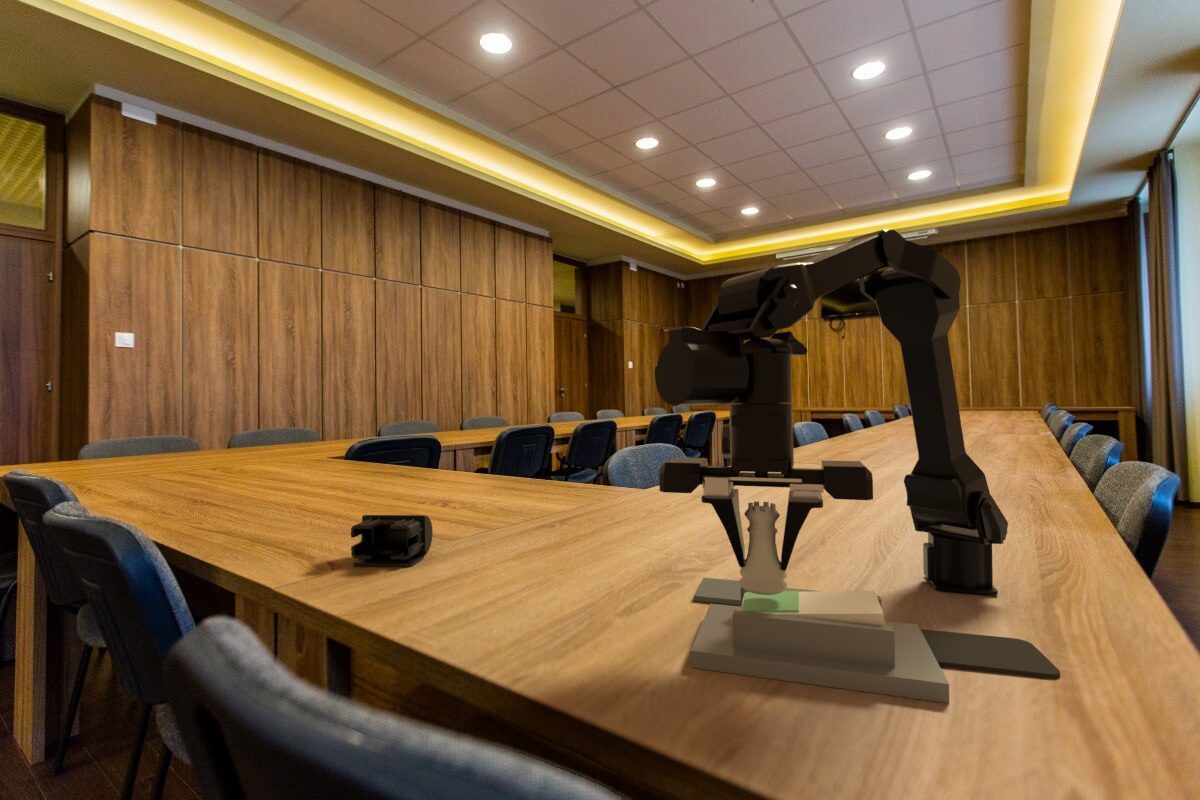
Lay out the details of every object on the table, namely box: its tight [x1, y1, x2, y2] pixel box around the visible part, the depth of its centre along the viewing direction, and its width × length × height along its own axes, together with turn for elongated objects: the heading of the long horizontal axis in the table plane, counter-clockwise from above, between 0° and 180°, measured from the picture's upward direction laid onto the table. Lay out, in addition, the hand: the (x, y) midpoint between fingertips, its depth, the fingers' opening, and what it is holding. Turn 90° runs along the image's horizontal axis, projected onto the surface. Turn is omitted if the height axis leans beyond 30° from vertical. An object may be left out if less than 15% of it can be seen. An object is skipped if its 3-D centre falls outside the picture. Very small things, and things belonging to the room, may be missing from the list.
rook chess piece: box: [738, 501, 789, 595], centre depth 54 cm, size 4×4×8 cm
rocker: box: [740, 589, 886, 626], centre depth 53 cm, size 12×6×2 cm, turn 71°
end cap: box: [350, 514, 433, 569], centre depth 86 cm, size 10×7×7 cm
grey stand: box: [690, 586, 950, 704], centre depth 53 cm, size 20×12×4 cm, turn 71°
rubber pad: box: [693, 577, 741, 607], centre depth 69 cm, size 7×7×1 cm
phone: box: [920, 628, 1061, 680], centre depth 53 cm, size 7×1×15 cm
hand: (762, 567), depth 54 cm, fingers closed on rook chess piece, 3 cm apart
